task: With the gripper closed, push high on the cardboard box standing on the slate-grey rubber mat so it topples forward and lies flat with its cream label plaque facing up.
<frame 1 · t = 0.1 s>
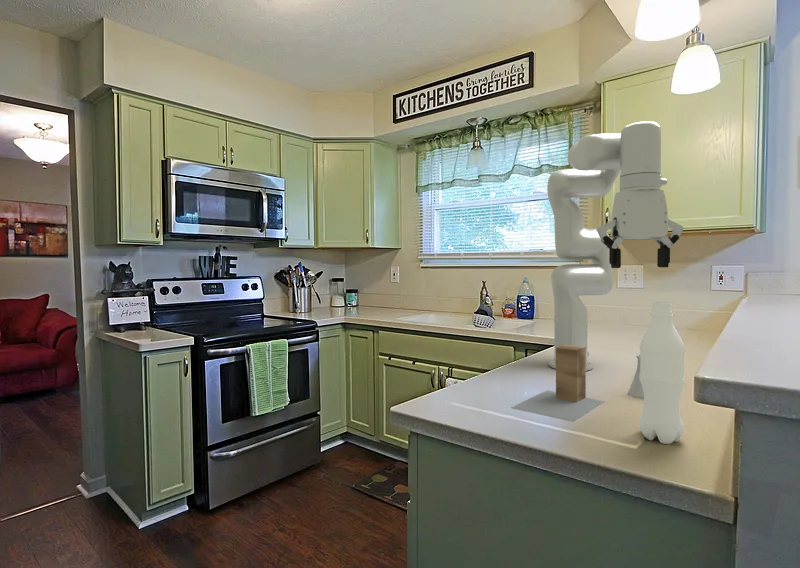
hand: (639, 267, 97), 31 cm above the counter, tool pointing down, fingers open, 9 cm apart
cardboard box: (570, 397, 109), point 1 cm above the counter, touching mat
flask: (643, 398, 111), on the counter
water bottle: (660, 439, 85), on the counter
mat: (558, 406, 104), on the counter
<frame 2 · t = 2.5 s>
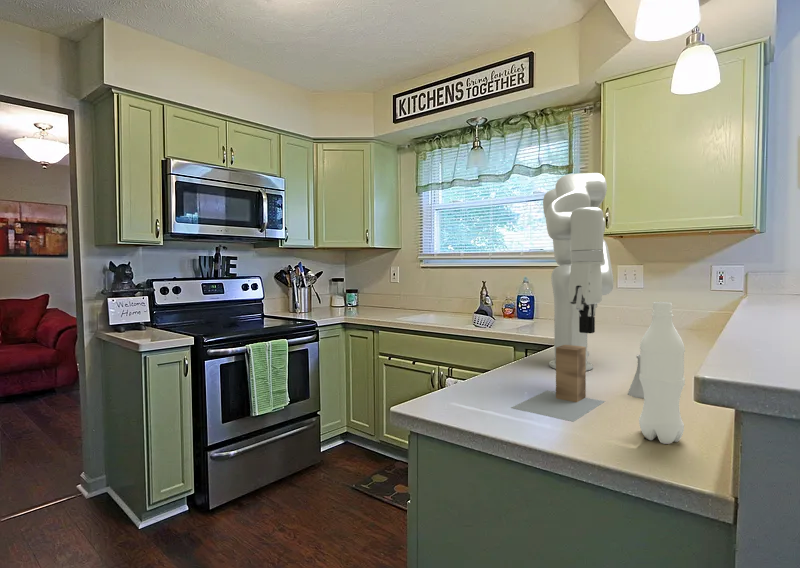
hand: (586, 332, 115), 15 cm above the counter, tool pointing down, fingers closed
nothing on the counter moved.
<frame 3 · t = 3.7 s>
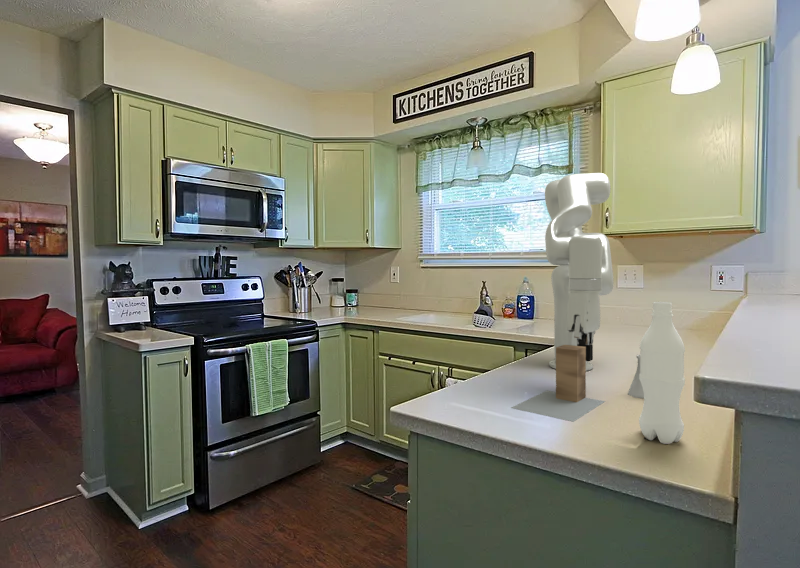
hand: (584, 360, 115), 8 cm above the counter, tool pointing down, fingers closed
nothing on the counter moved.
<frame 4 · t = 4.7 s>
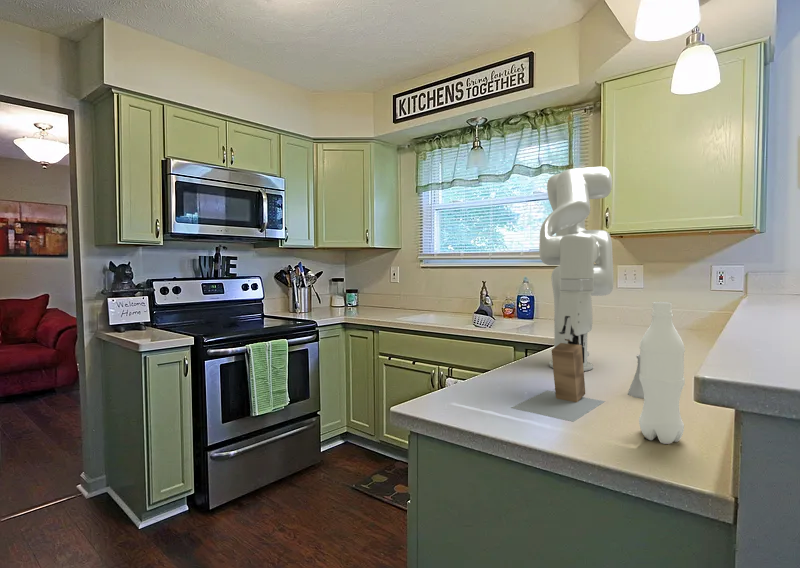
hand: (576, 363, 111), 8 cm above the counter, tool pointing down, fingers closed
cardboard box: (570, 395, 109), point 1 cm above the counter, tilted 11°, touching mat
everything else where it was.
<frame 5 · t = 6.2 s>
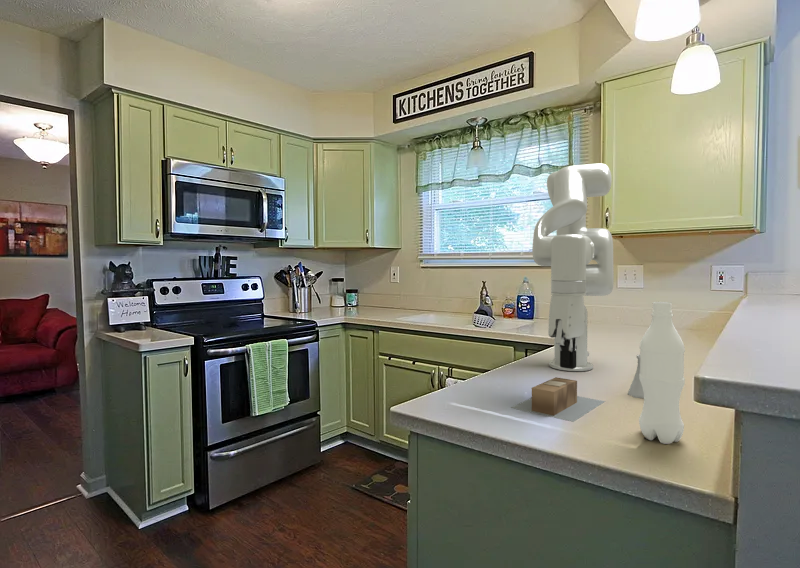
hand: (568, 367, 108), 8 cm above the counter, tool pointing down, fingers closed
cardboard box: (566, 389, 107), point 3 cm above the counter, tilted 90°, touching mat
everything else where it was.
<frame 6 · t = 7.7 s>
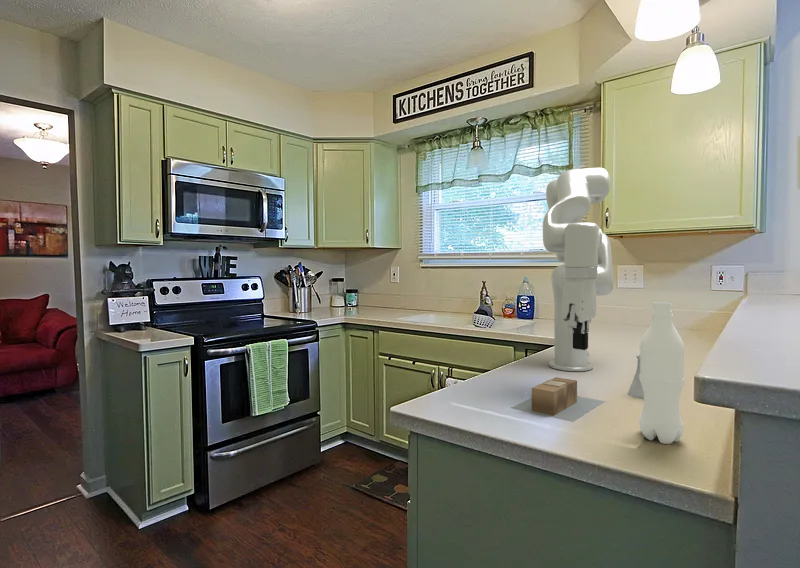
hand: (580, 348, 114), 11 cm above the counter, tool pointing down, fingers closed
nothing on the counter moved.
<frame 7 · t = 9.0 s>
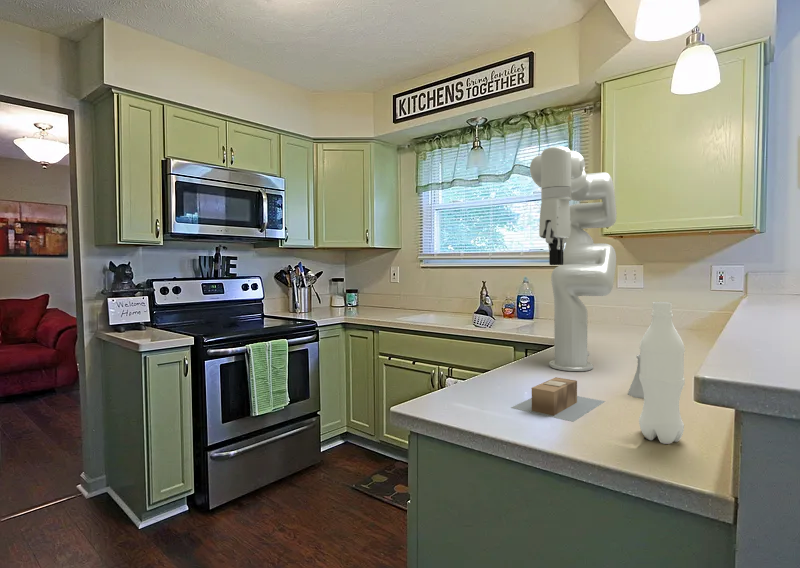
hand: (556, 264, 124), 32 cm above the counter, tool pointing down, fingers closed
nothing on the counter moved.
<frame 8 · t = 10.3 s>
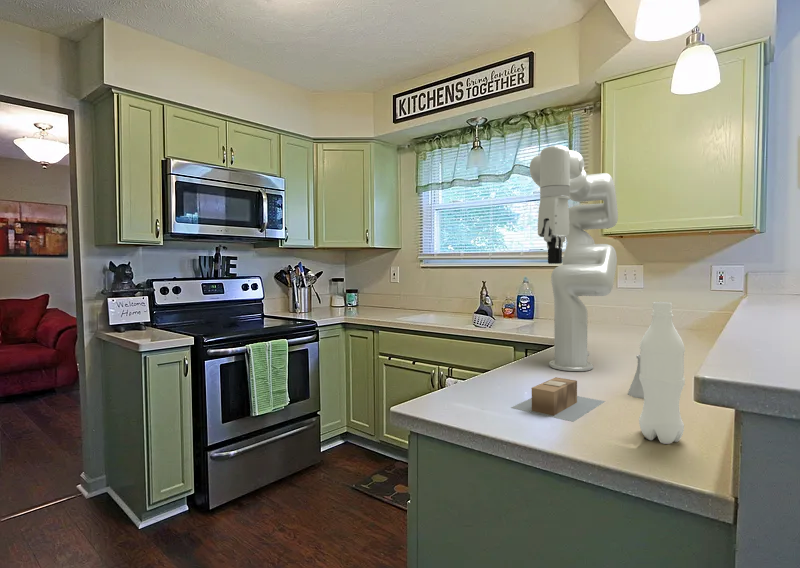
hand: (554, 263, 124), 32 cm above the counter, tool pointing down, fingers closed
nothing on the counter moved.
at the end: cardboard box tilted 90°; cardboard box inside the target area (2.0 cm from its centre), point 3.1 cm above the counter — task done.
